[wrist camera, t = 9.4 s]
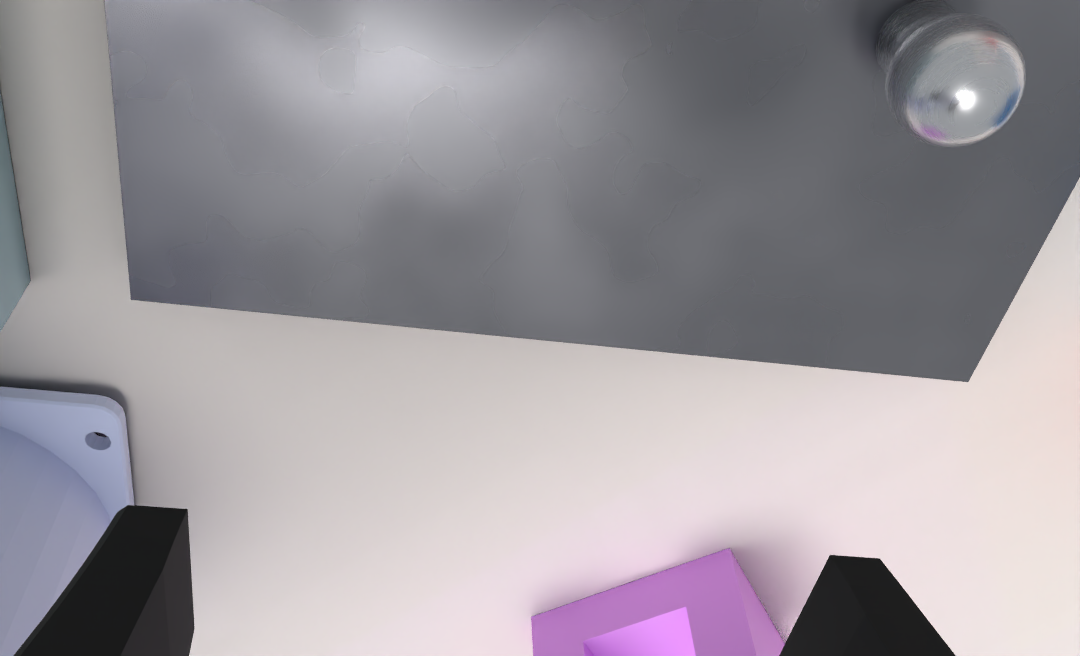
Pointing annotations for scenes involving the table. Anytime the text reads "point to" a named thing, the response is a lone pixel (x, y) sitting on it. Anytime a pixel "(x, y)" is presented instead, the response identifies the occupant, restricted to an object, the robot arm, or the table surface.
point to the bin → (10, 234)
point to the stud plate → (604, 167)
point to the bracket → (665, 616)
